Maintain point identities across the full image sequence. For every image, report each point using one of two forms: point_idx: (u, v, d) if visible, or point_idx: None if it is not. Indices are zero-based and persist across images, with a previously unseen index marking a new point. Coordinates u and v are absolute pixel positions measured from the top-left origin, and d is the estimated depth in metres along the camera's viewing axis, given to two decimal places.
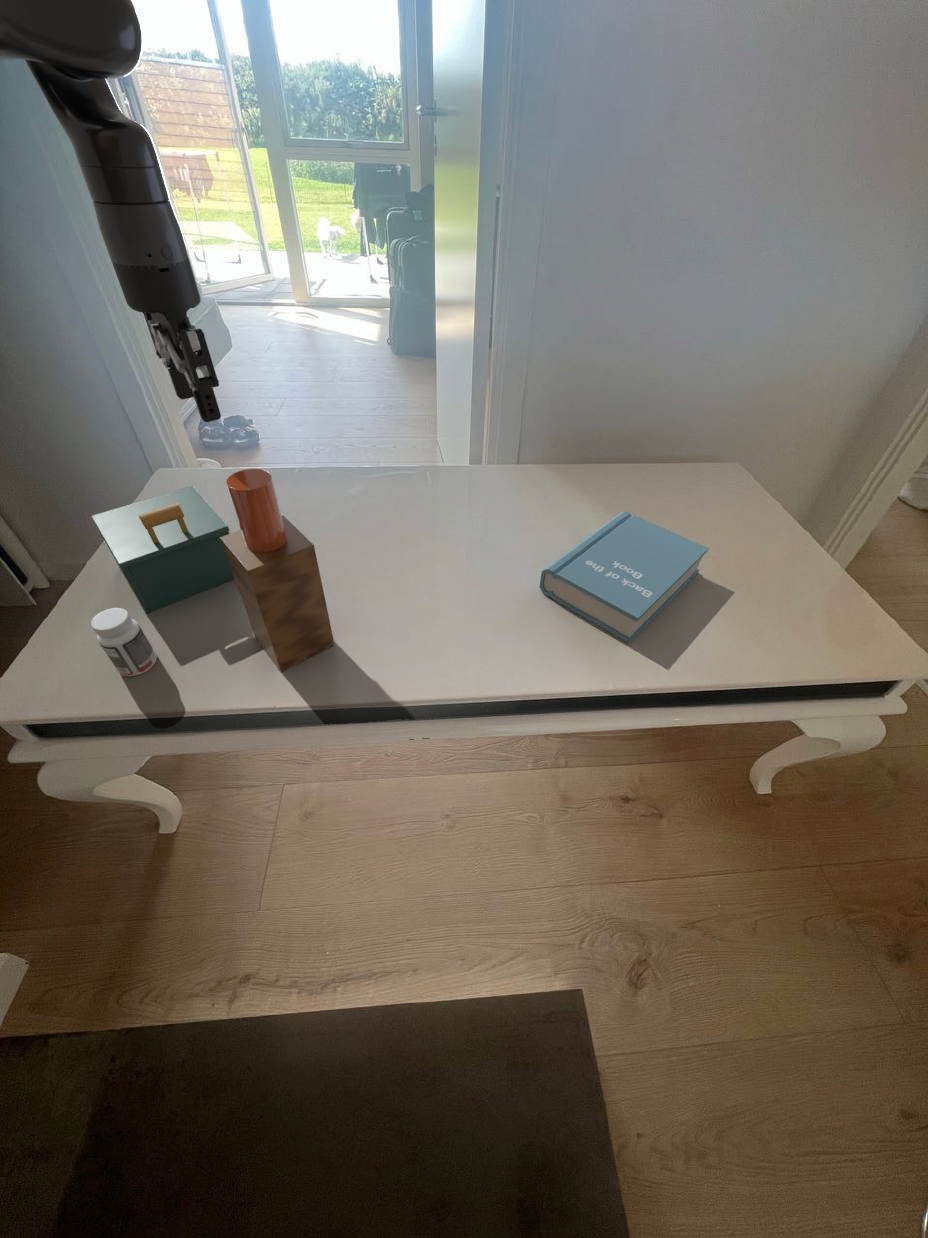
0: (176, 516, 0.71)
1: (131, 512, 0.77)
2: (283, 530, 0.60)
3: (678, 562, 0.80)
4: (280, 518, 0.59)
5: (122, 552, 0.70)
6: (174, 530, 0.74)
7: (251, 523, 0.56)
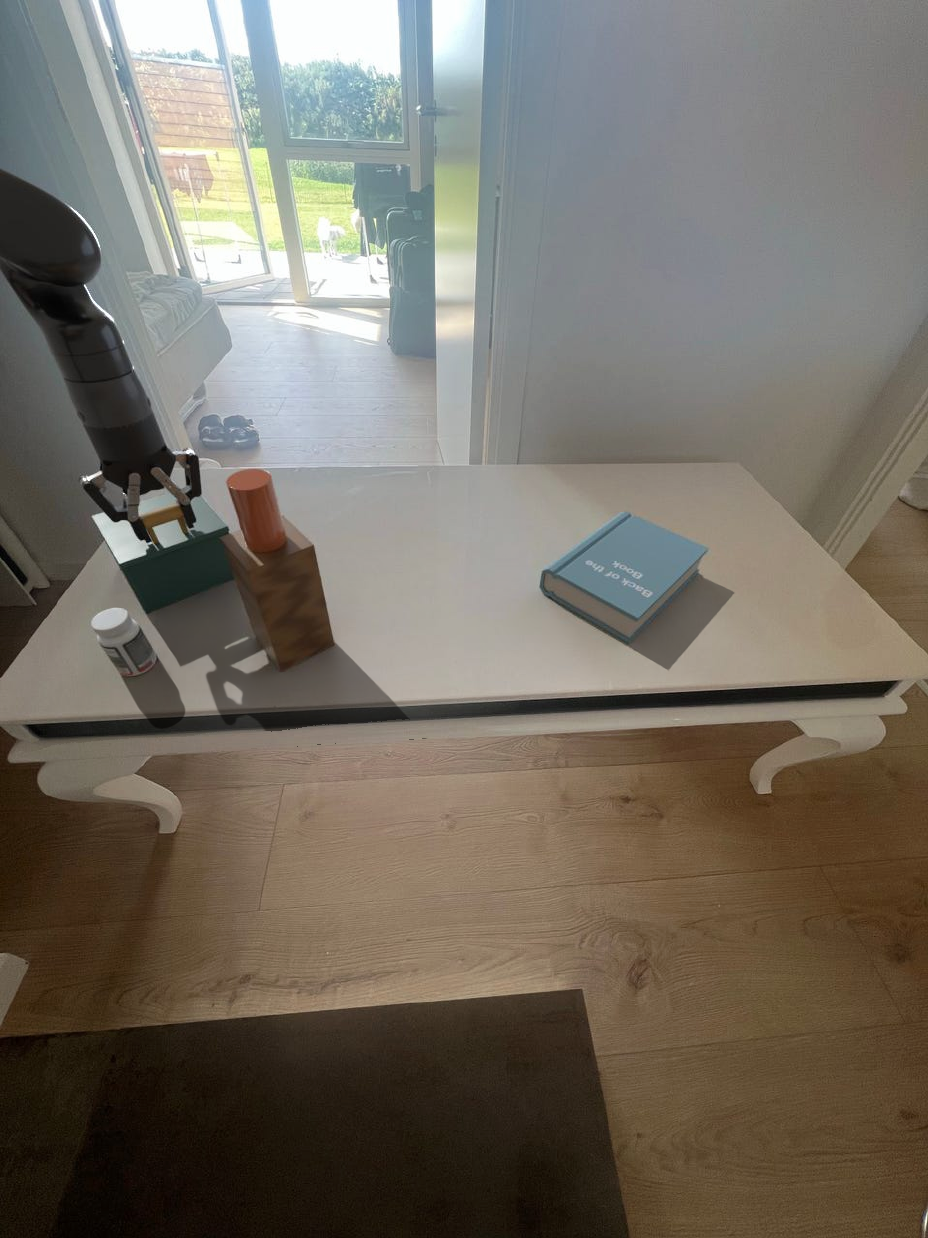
0: (176, 516, 0.71)
1: None
2: (283, 530, 0.60)
3: (678, 562, 0.80)
4: (280, 518, 0.59)
5: (122, 552, 0.70)
6: (174, 530, 0.74)
7: (251, 523, 0.56)
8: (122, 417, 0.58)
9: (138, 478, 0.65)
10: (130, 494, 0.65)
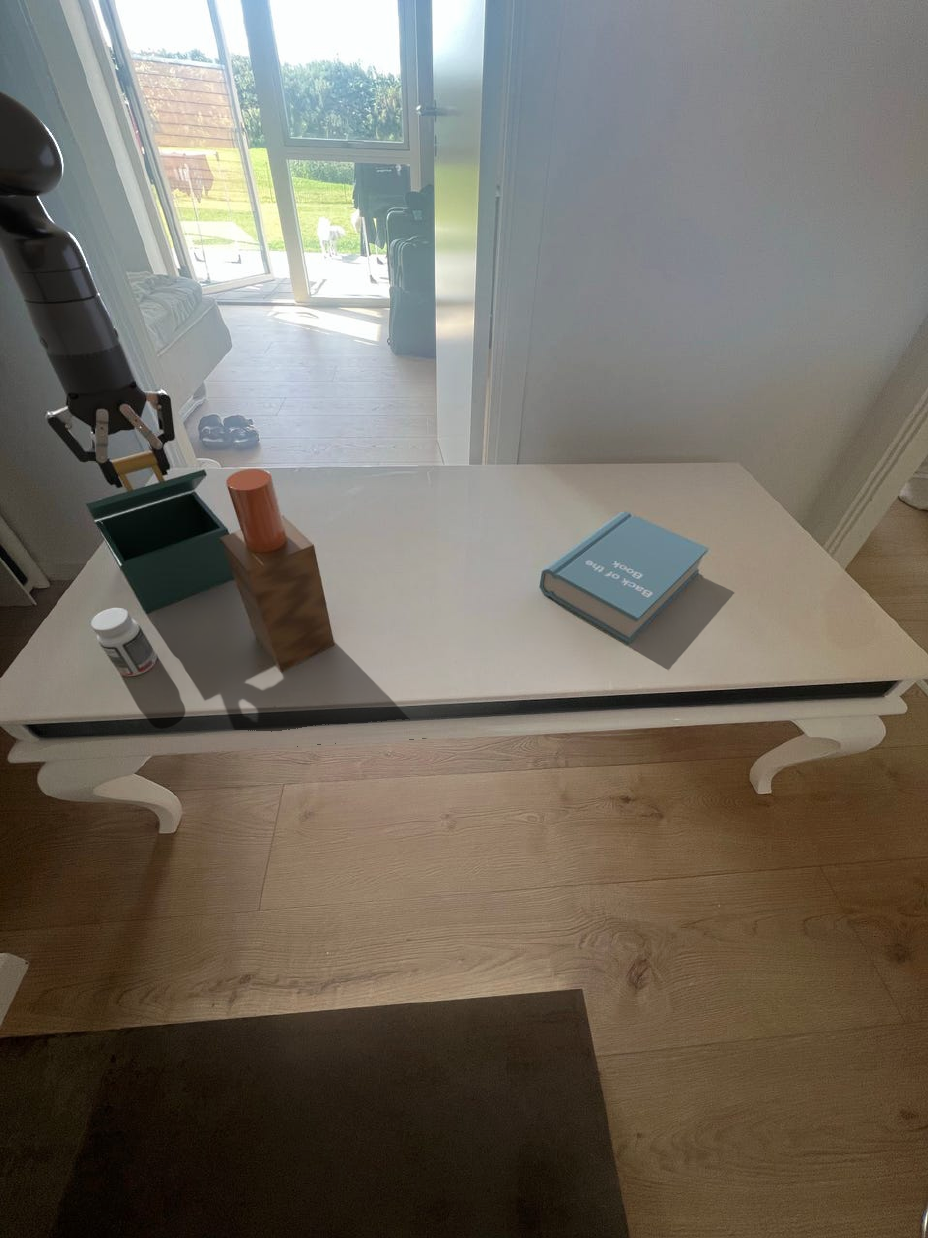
0: (148, 460, 0.69)
1: None
2: (283, 530, 0.60)
3: (678, 562, 0.80)
4: (280, 518, 0.59)
5: None
6: None
7: (251, 523, 0.56)
8: (86, 344, 0.57)
9: (106, 415, 0.63)
10: (98, 432, 0.63)
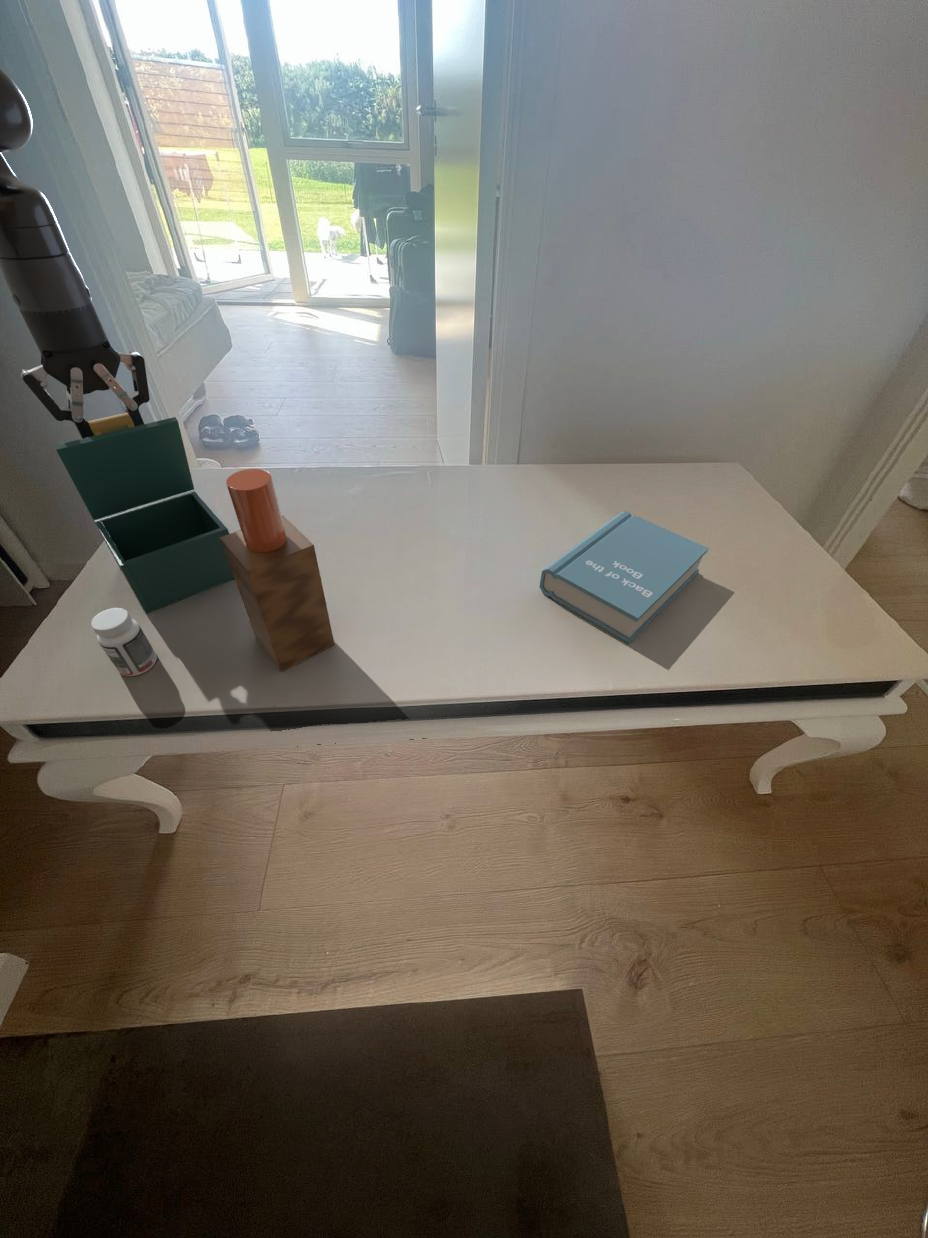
0: (122, 417, 0.70)
1: None
2: (283, 530, 0.60)
3: (678, 562, 0.80)
4: (280, 518, 0.59)
5: None
6: None
7: (251, 523, 0.56)
8: (57, 301, 0.58)
9: (80, 373, 0.64)
10: (73, 391, 0.65)
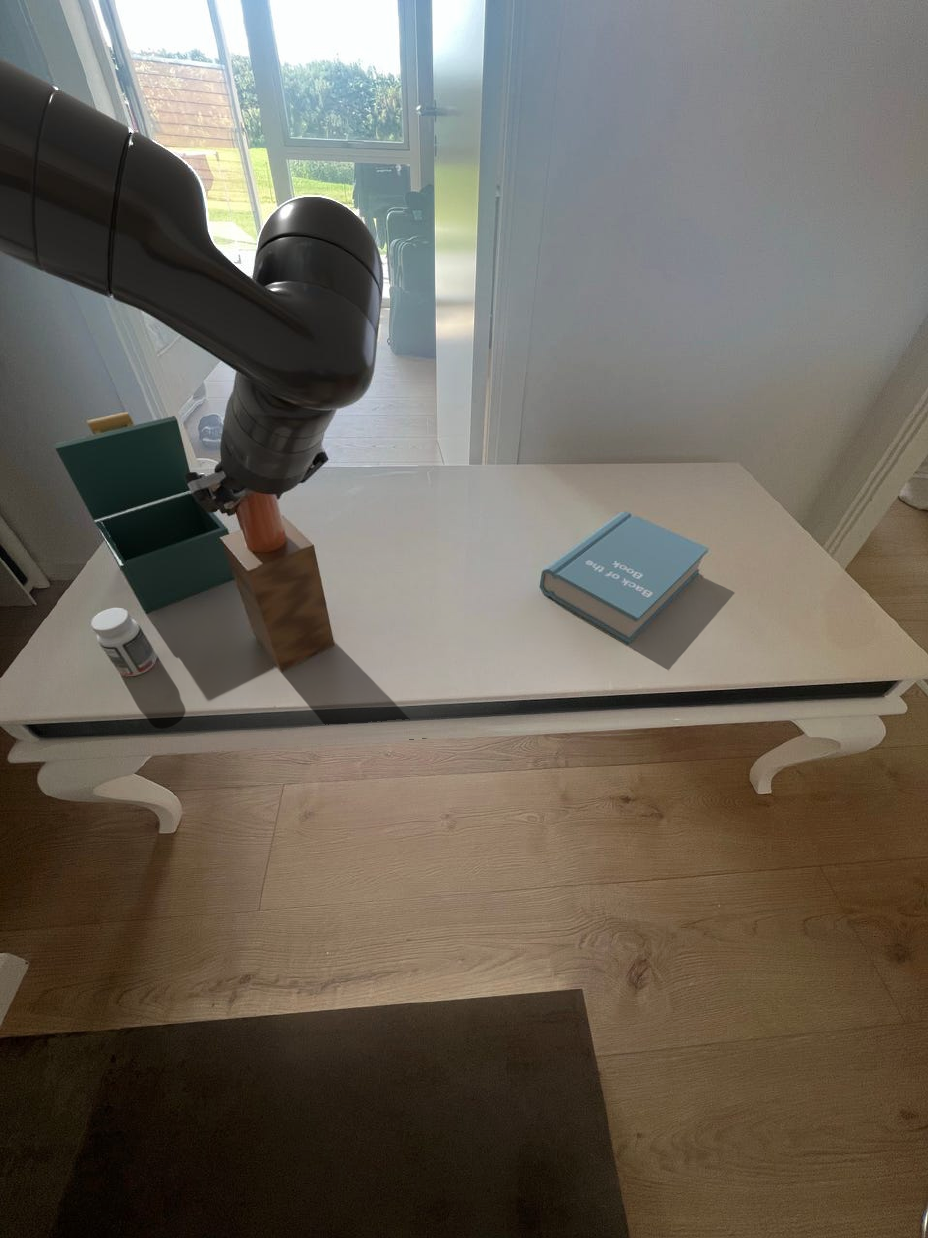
0: (122, 416, 0.70)
1: None
2: (283, 530, 0.60)
3: (678, 562, 0.80)
4: (280, 518, 0.59)
5: None
6: None
7: (251, 523, 0.56)
8: (293, 473, 0.44)
9: None
10: (242, 497, 0.51)
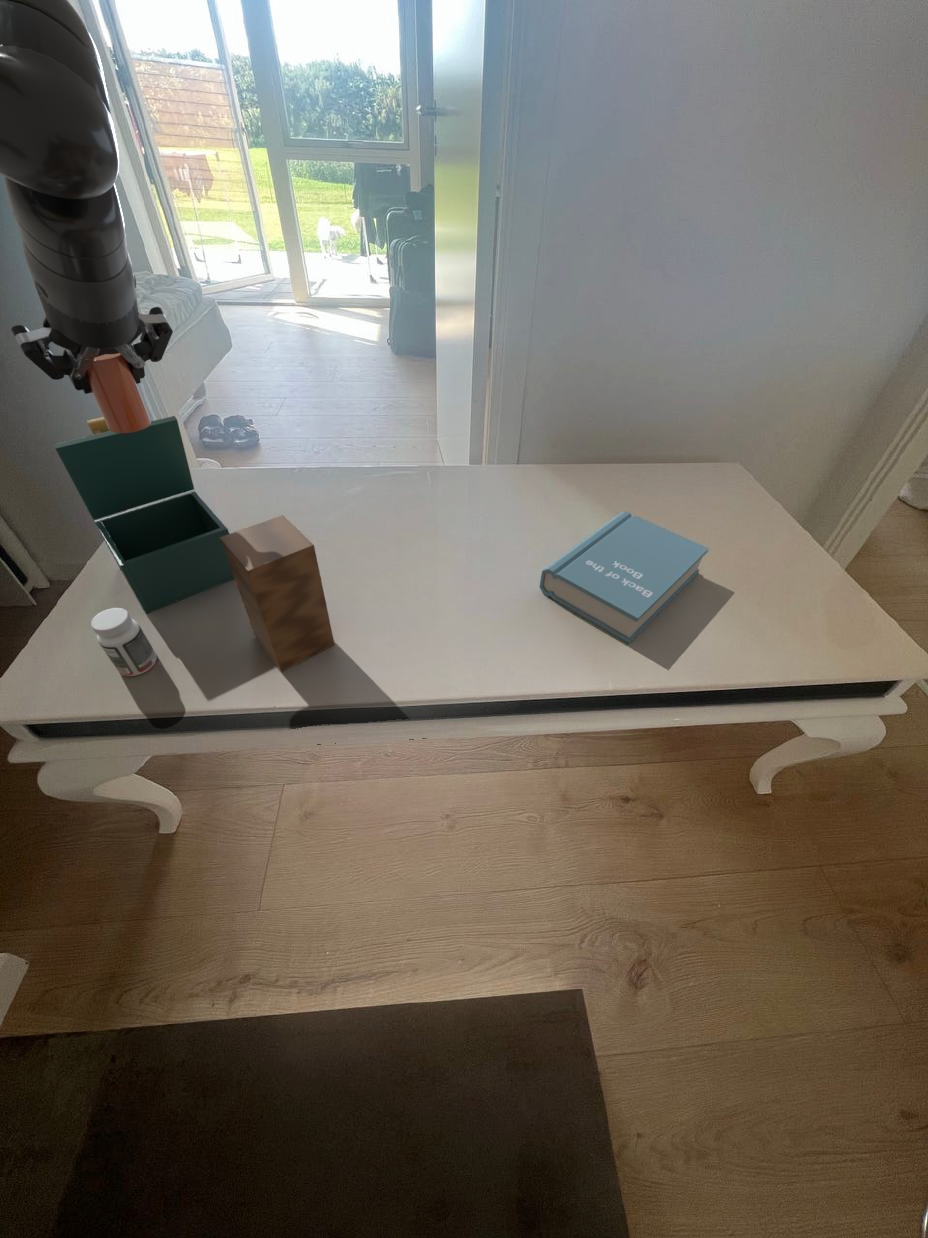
0: None
1: None
2: (144, 413, 0.62)
3: (678, 562, 0.80)
4: (139, 399, 0.60)
5: None
6: None
7: (105, 399, 0.58)
8: (104, 316, 0.45)
9: (96, 351, 0.52)
10: (82, 361, 0.53)
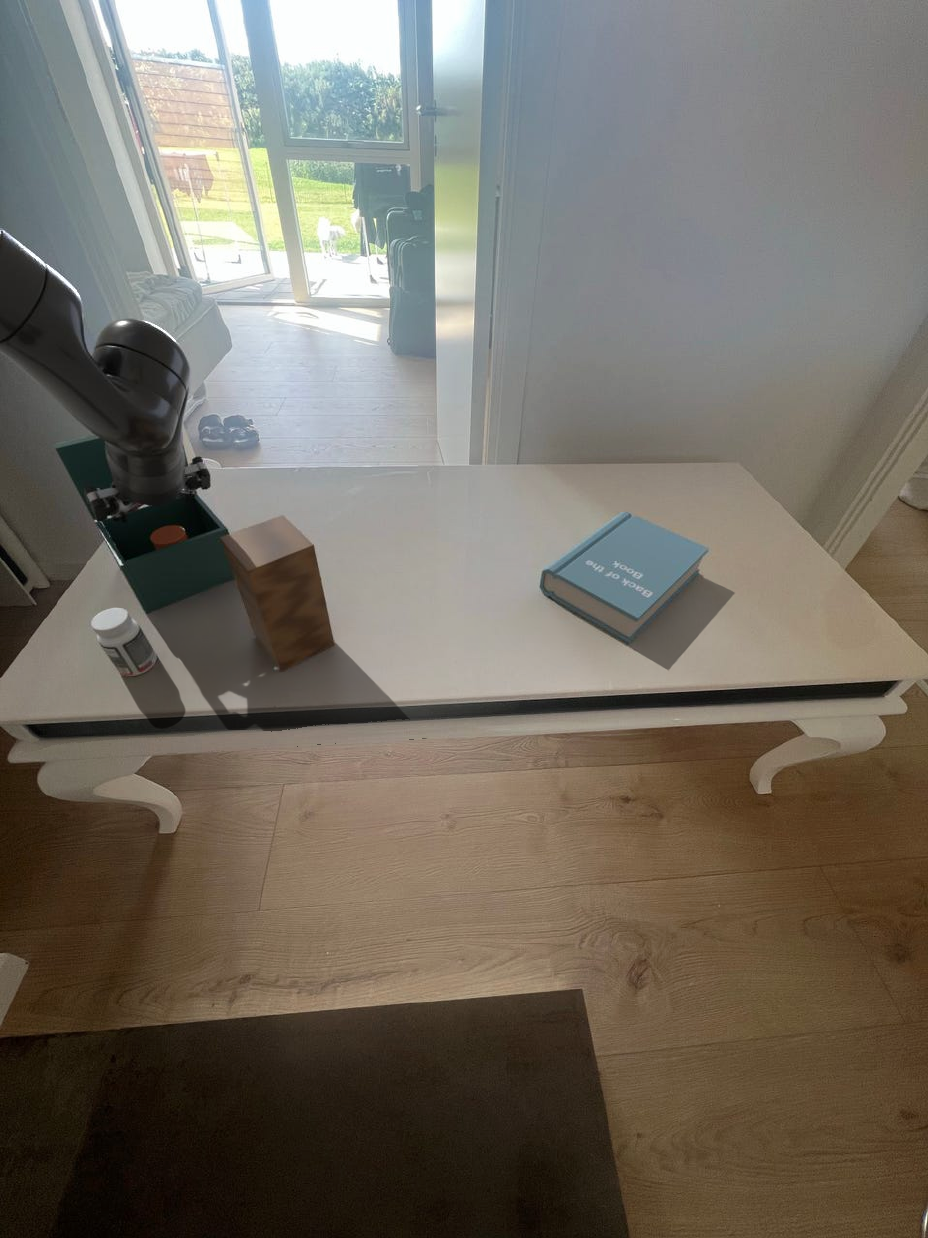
0: None
1: None
2: None
3: (678, 562, 0.80)
4: None
5: None
6: None
7: None
8: (162, 490, 0.59)
9: None
10: (132, 507, 0.65)
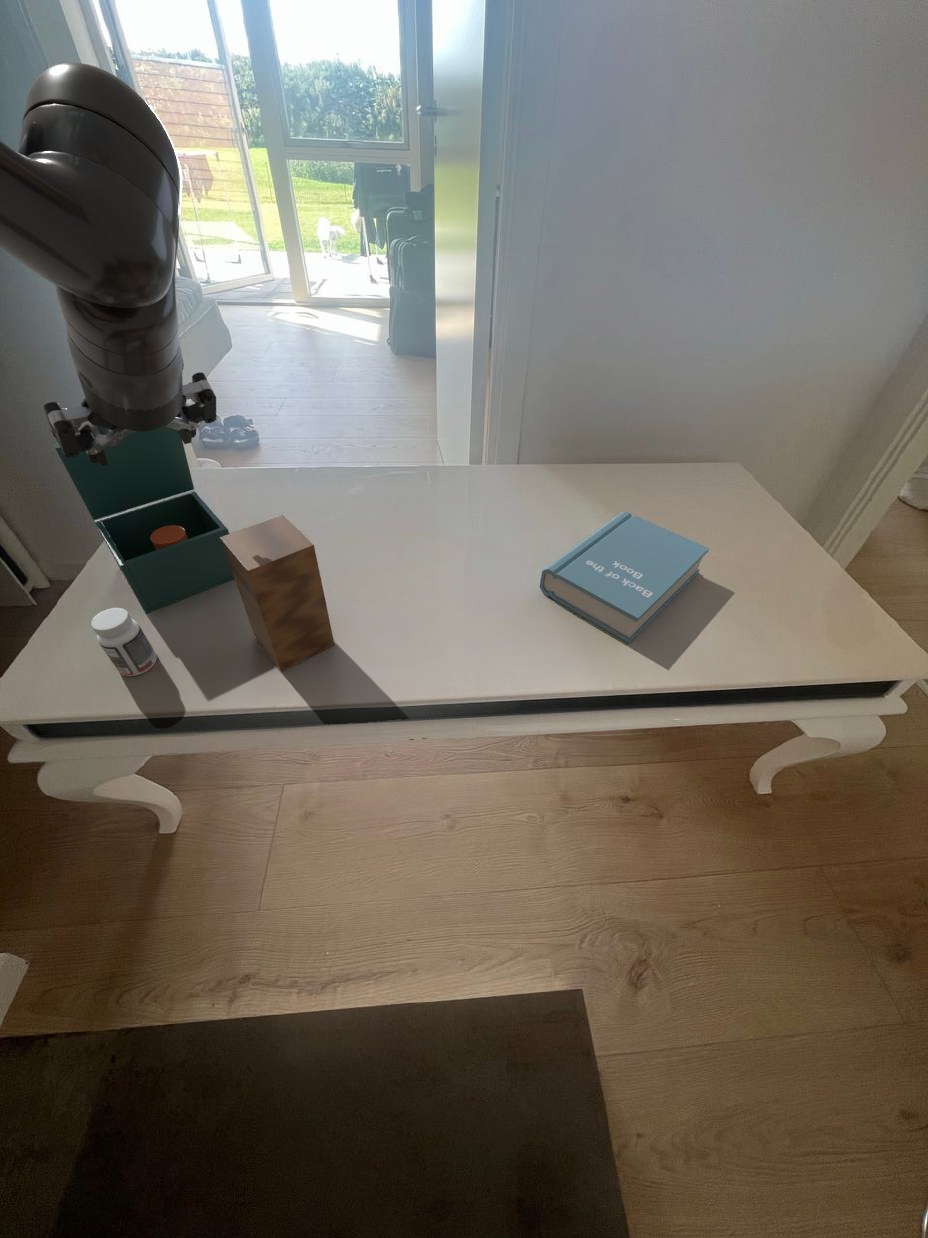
0: None
1: None
2: None
3: (679, 562, 0.80)
4: None
5: None
6: None
7: None
8: (151, 403, 0.42)
9: None
10: (112, 439, 0.49)
